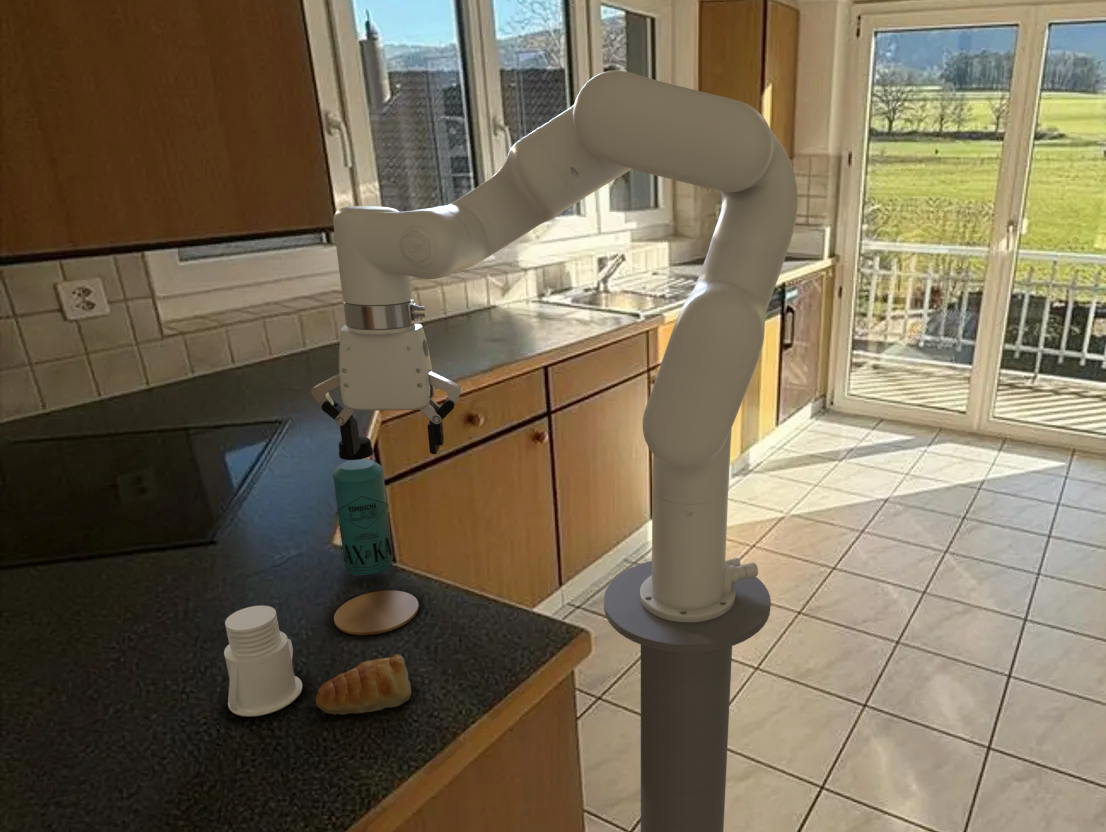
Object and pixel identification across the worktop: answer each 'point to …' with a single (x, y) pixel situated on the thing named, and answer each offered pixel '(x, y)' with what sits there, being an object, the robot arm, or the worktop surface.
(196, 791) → the worktop surface
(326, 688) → the pastry
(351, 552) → the beverage bottle
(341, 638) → the worktop surface
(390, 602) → the cork coaster
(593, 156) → the robot arm
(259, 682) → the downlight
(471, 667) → the worktop surface
